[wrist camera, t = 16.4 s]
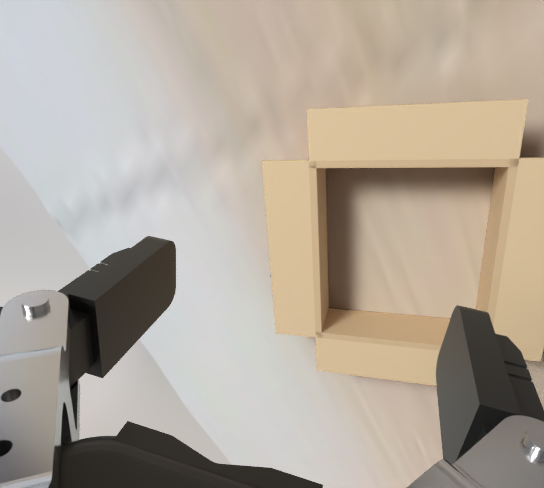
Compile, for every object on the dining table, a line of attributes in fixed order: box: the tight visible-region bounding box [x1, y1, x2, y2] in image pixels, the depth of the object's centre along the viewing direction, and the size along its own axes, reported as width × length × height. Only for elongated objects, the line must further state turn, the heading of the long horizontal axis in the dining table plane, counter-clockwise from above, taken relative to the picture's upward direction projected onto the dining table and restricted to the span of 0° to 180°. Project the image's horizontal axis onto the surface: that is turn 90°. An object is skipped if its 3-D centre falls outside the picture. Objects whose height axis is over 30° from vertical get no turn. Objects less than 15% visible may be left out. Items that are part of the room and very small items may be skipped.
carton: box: [262, 99, 544, 386], centre depth 38 cm, size 25×23×4 cm
